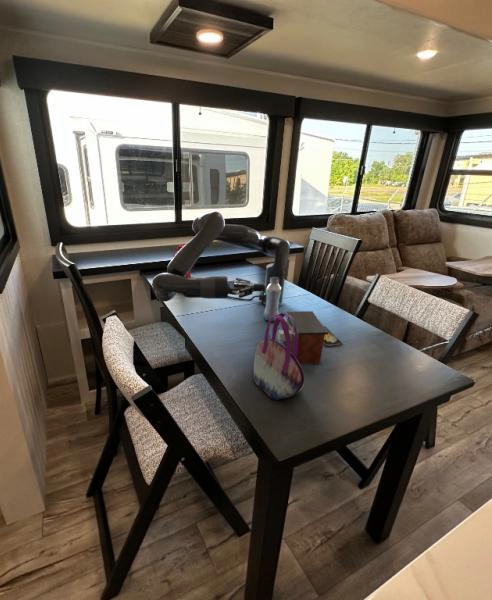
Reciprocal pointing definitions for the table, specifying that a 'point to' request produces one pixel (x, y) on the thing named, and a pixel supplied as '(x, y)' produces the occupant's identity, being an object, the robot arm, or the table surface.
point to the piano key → (282, 336)
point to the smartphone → (331, 339)
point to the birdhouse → (307, 336)
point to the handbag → (278, 363)
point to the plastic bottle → (272, 298)
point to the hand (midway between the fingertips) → (264, 287)
